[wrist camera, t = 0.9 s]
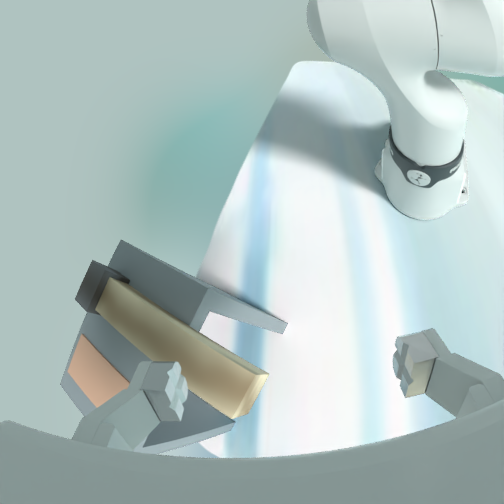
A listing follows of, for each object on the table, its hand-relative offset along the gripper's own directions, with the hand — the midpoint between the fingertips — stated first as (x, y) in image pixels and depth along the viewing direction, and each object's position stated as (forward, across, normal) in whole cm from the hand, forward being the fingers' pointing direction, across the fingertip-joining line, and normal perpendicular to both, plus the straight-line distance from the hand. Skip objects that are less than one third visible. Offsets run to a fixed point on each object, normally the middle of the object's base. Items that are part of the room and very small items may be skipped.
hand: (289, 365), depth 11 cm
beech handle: (+15, +12, +9) cm, 21 cm away
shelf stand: (+33, +12, +29) cm, 46 cm away
